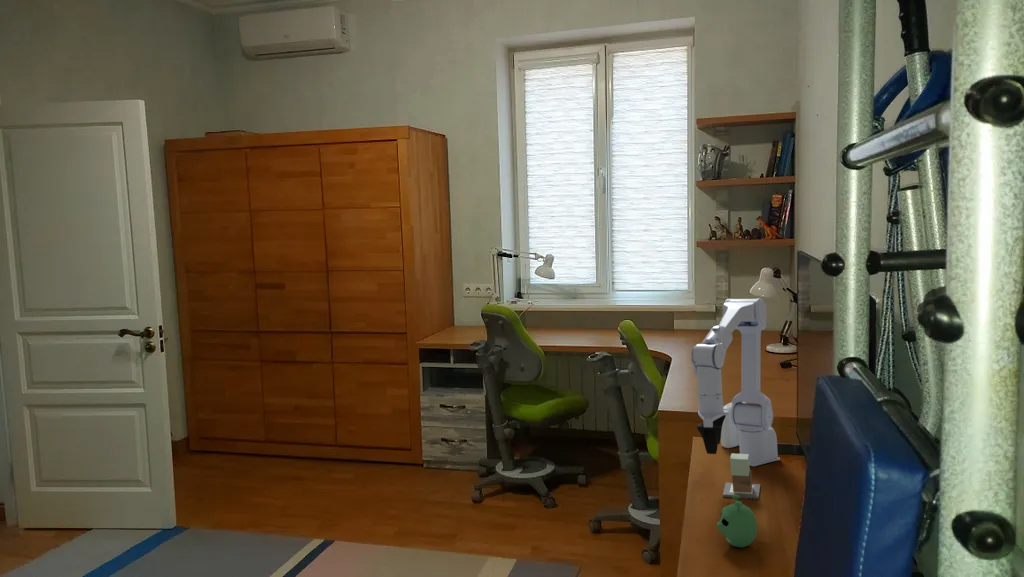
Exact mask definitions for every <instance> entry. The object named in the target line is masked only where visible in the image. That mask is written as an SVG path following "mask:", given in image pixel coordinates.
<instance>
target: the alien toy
mask: <svg viewBox="0 0 1024 577" xmlns="http://www.w3.org/2000/svg"><path fill="white" fill-rule="evenodd" d="M731 498H732V499H734V503H731V504H729V505H727V506H724V507H722V510H721V513H720V514H719V516H720V520H719V521H718V522H717V523H716V528H717V530H718V531H719V532H720V533H721V534H722V535H723V536H724V538H726V542H727V543H729V544H730V545H731V546H733V547H737V548H746V547H748V546H750V545H751V544H753V542H754V540H755V539H756V536H757V532H758V523H757V519H756V515H755V514H754V513H753V511H752V510H751V508H750V507H748V506H747V505H746V504H743V502H742V501H740V500H739V499H741V498H740V496H739V495H733V496H732V497H731Z"/></svg>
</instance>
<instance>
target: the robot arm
mask: <svg viewBox="0 0 1024 577" xmlns="http://www.w3.org/2000/svg"><path fill="white" fill-rule="evenodd" d="M767 310H768V309H767V305H766V302H765V300H763V299H762V298H761V297H758V298H727V299H725V300H724V303H723V305H722V315H723V316H722V318H721V320H720V322H719V324H718V325H714V326H713V327H711V328H710V330H709V332H708V333H707V335H706V336H705V337H704V338H703V340H702V342H701V343H697V344H695V345H694V346H693V347H692V350H691V353H690V362H691V365H692V367H693V373H694V375H695V376H696V384H697V385H696V387H697V402H698V411H697V413H698V416H699V418H701V420H702V421H703V422H702V423H697V424H696V429H697V430H698V432H699V433H700V435H701V439H702V441H703V444H704V447H705V452H706V454H708V455H717V452H718V446H719V445H720V444H721V431H722V425H723V421H724V419H725V417H726V415H728V414H729V411H728V410H723V407H724V398H723V382H722V381H723V380H722V367H723V366H724V364H725V357H726V354H727V352H726V351H727V349H728V347H729V346H730V345H731V343H732V341H733V338H734V337H733V332H734V331H735V330H738V332H740V334H741V352H740V354H741V356H740V357H741V358H740V359H741V369H740V371H741V372H740V373H741V377H740V378H741V379H740V380H741V381H740V382H741V383H740V387H741V388H740V392H739V393H737V394H736V395H735V396H734V397H732V400H731V402H732V407H731V411H730V417H731V421H732V422H733V424H734V425H736V428H737V429H738V431H739V445H738V447H739V454H749V467H756V466H757V467H758V466H760V465H764V464H768V463H773V462H777V461H780V460H781V458H780V457H778V454H779V453H778V439H777V434H776V431H775V429H774V428H773V426H772V424H773V421H774V411H773V406H772V400H771V399H770V398H769V397H768V396H766V394H764V393H763V392H762V391H761V363H762V362H761V358H762V357H761V353H762V351H761V349H762V348H761V344H762V343H761V338H762V337H761V335H762V331H763V330H765V329H767V325H768V324H767V323H768V319H767V316H768V315H767V314H768V313H767V312H768V311H767ZM742 402H745V403H742Z"/></svg>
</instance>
